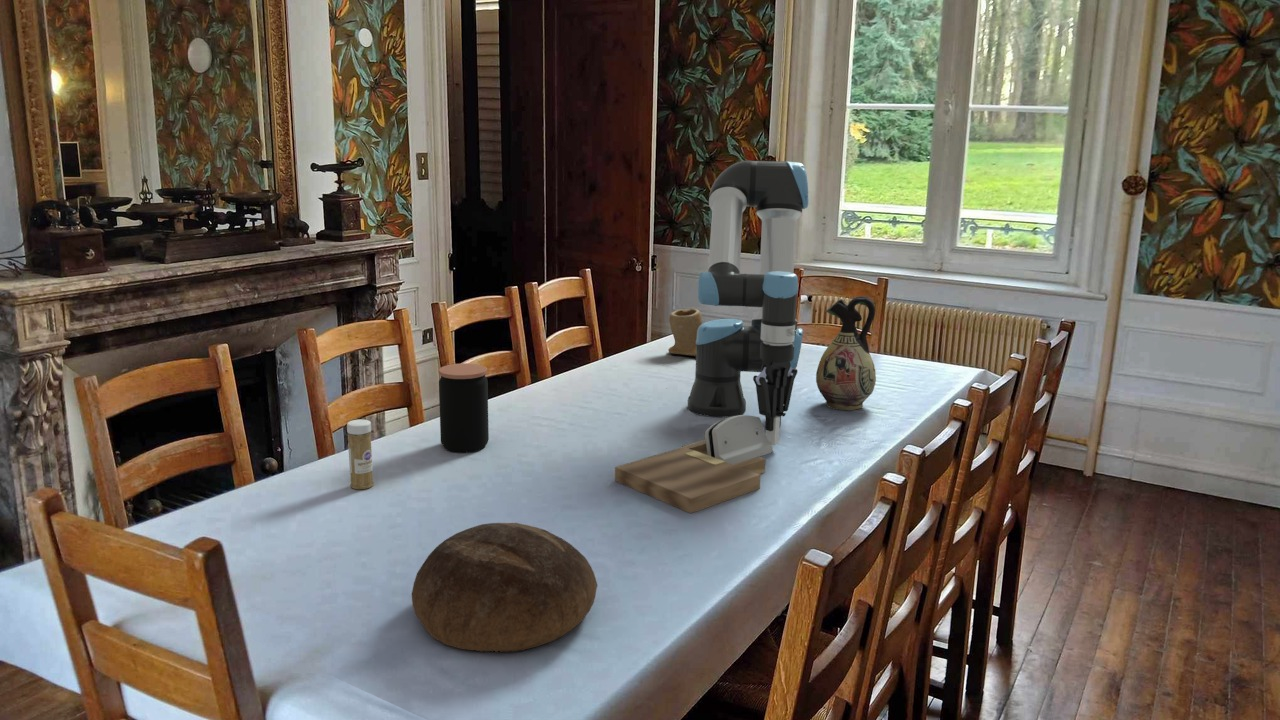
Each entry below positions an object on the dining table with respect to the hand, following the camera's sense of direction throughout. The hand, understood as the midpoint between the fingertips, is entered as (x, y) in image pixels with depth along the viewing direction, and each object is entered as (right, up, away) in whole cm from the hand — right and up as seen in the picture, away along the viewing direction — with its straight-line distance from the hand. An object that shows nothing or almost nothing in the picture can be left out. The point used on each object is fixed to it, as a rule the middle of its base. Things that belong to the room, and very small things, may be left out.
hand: (771, 443), depth 217 cm
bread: (-50, -19, -74) cm, 91 cm away
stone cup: (-14, +20, +88) cm, 92 cm away
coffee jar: (-70, -1, -1) cm, 70 cm away
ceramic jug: (+25, +6, +36) cm, 44 cm away
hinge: (-8, -3, -3) cm, 9 cm away
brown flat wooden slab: (-18, -6, -19) cm, 26 cm away
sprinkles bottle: (-86, -7, -26) cm, 90 cm away
